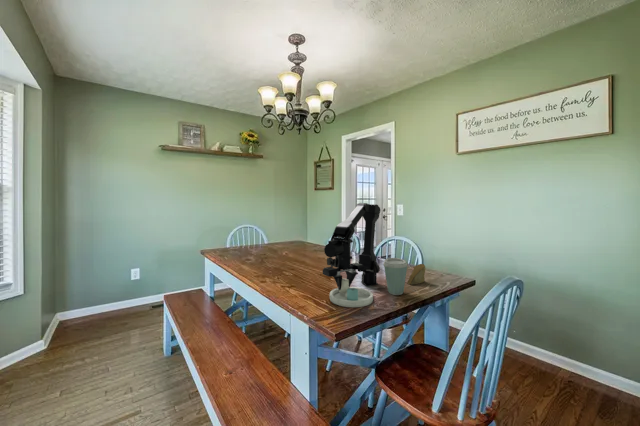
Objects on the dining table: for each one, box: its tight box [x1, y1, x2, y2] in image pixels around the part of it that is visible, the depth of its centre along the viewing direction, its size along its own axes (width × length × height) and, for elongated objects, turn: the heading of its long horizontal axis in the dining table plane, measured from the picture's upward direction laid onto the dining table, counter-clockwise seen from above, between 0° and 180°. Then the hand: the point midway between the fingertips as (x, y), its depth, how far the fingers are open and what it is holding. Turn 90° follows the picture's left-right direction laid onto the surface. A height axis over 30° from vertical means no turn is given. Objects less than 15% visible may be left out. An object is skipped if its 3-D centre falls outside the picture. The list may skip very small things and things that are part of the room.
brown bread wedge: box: [407, 263, 426, 286], centre depth 144 cm, size 11×9×10 cm
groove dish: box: [329, 286, 374, 308], centre depth 121 cm, size 18×18×2 cm
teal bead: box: [347, 288, 358, 301], centre depth 116 cm, size 4×4×5 cm
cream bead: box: [339, 278, 349, 293], centre depth 126 cm, size 4×4×5 cm
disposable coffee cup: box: [382, 257, 408, 296], centre depth 129 cm, size 11×11×15 cm
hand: (343, 288), depth 126 cm, fingers closed on cream bead, 4 cm apart
